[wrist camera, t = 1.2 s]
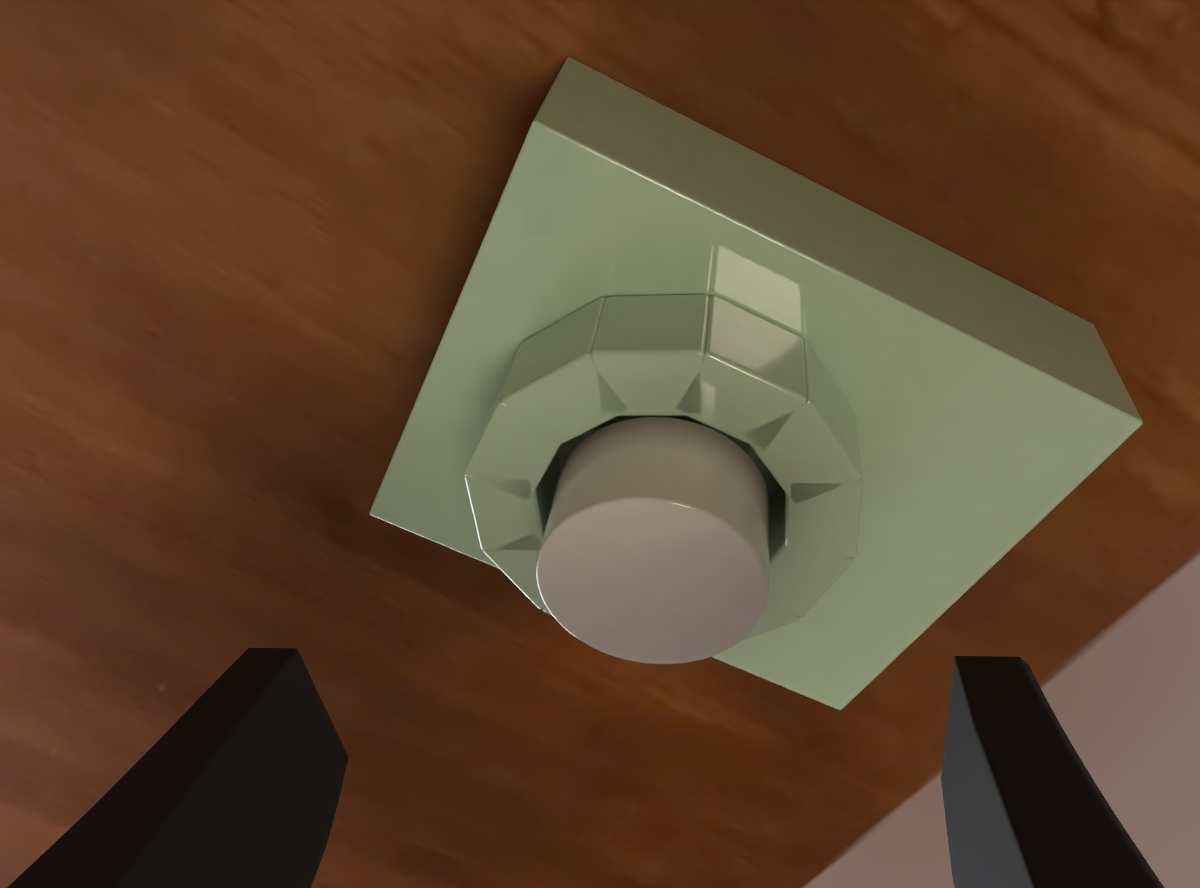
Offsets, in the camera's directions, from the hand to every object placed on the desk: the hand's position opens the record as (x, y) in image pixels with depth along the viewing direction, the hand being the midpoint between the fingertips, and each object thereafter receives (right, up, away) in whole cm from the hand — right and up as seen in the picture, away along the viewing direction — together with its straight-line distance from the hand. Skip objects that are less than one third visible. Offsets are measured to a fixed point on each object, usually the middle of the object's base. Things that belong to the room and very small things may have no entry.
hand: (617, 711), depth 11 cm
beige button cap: (+1, +2, +6) cm, 6 cm away
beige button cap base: (+2, +4, +10) cm, 11 cm away
